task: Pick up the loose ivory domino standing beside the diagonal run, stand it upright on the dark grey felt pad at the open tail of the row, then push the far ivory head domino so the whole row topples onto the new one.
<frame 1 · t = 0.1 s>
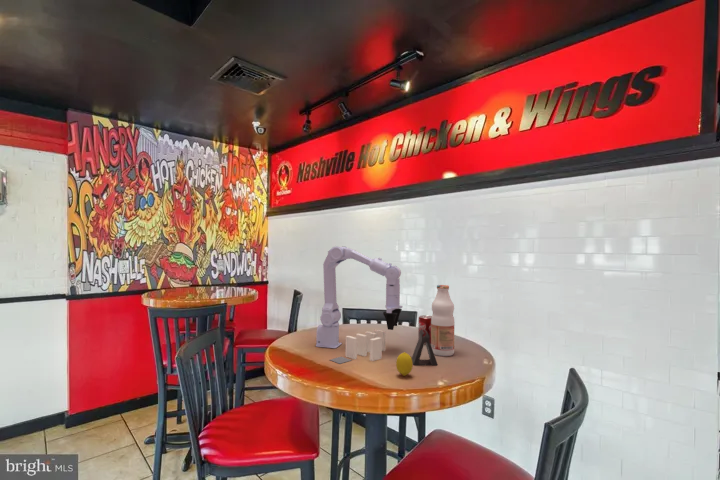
hand: (392, 327, 149), 10 cm above the table, tool pointing down, fingers open, 7 cm apart
tile 4: (351, 357, 140), on the table
phone stand: (424, 363, 135), on the table
lemon: (404, 376, 121), on the table
tile 2: (370, 352, 148), on the table
fruit juice: (442, 353, 147), on the table
head tile: (379, 349, 152), on the table
end marker: (340, 360, 137), on the table
soda can: (426, 343, 163), on the table
tile 3: (361, 354, 144), on the table
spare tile: (375, 359, 138), on the table
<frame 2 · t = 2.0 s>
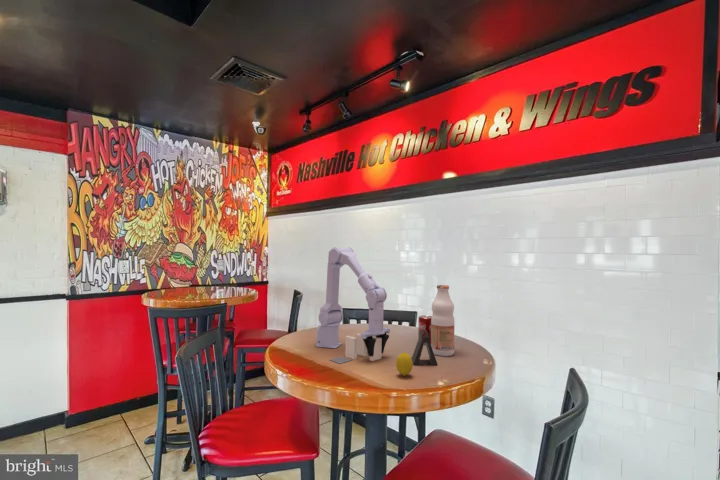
hand: (375, 354, 138), 2 cm above the table, tool pointing down, fingers closed on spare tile, 5 cm apart
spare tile: (375, 359, 138), on the table, touching gripper
everything else where it was.
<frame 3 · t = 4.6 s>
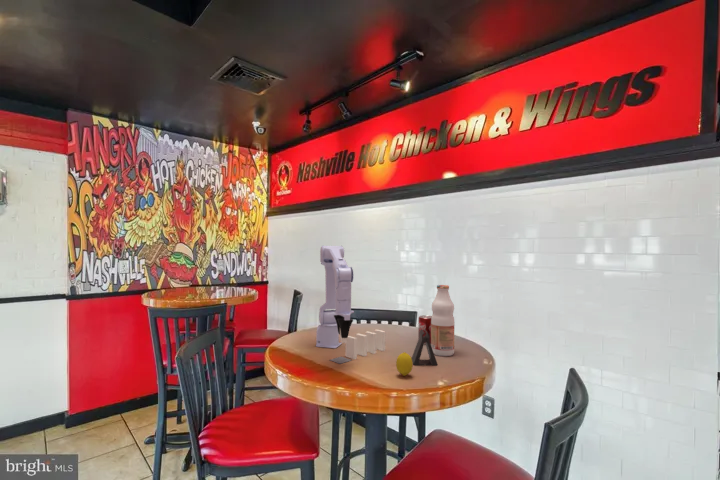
hand: (343, 335, 133), 10 cm above the table, tool pointing down, fingers closed on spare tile, 5 cm apart
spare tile: (343, 341, 133), point 8 cm above the table, touching gripper
everything else where it was.
when the fingers open (3 cm above the table, at t = 7.3 s): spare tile stays where it is, resting on end marker.
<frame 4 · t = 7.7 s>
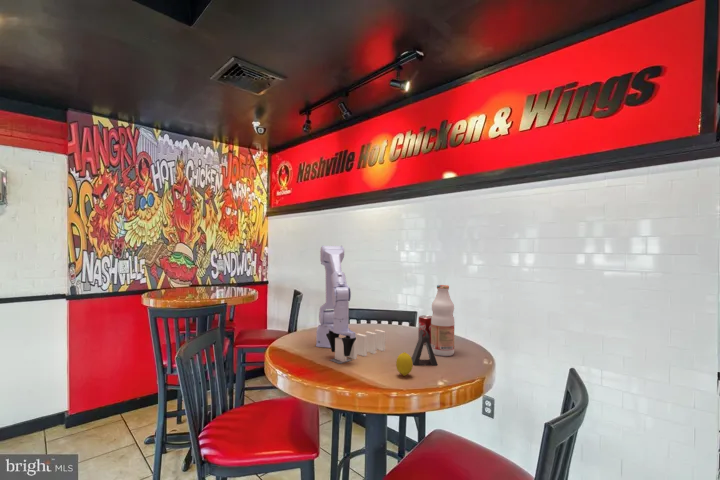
hand: (340, 353, 137), 3 cm above the table, tool pointing down, fingers open, 7 cm apart
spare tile: (340, 359, 137), resting on end marker
everything else where it was.
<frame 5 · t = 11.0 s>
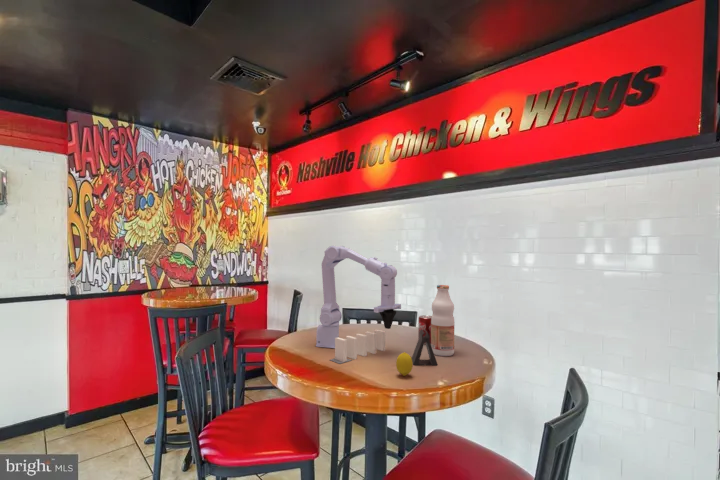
hand: (387, 328, 146), 10 cm above the table, tool pointing down, fingers closed
nothing on the table moved.
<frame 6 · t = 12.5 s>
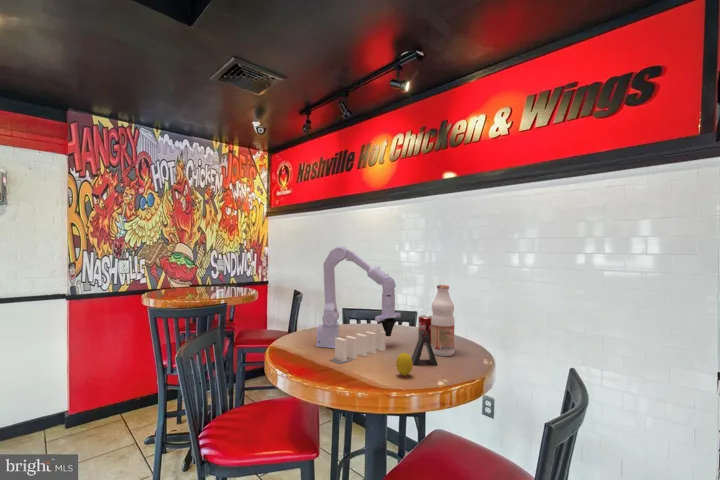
hand: (388, 335, 156), 5 cm above the table, tool pointing down, fingers closed
nothing on the table moved.
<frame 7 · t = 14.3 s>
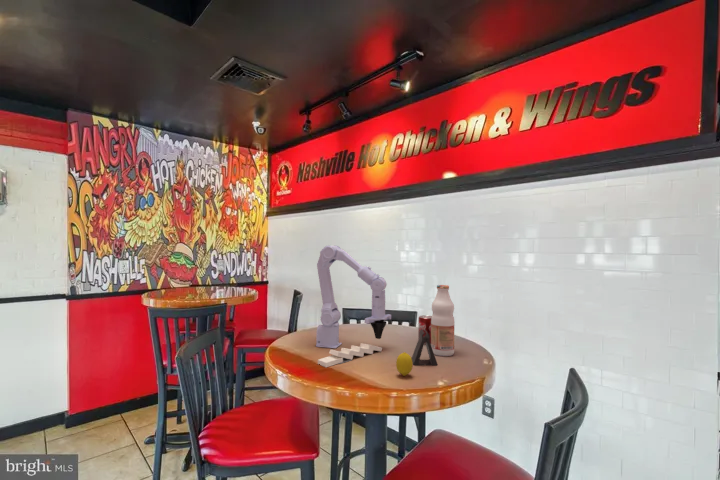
hand: (378, 338, 151), 5 cm above the table, tool pointing down, fingers closed
tile 4: (348, 356, 139), point 1 cm above the table, tilted 69°, touching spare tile, tile 3
tile 2: (368, 350, 147), point 1 cm above the table, tilted 72°, touching head tile, tile 3
head tile: (377, 348, 151), point 1 cm above the table, tilted 73°, touching tile 2
tile 3: (359, 353, 143), point 1 cm above the table, tilted 72°, touching tile 2, tile 4
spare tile: (338, 358, 136), point 1 cm above the table, tilted 92°, touching end marker, tile 4
everything else where it was.
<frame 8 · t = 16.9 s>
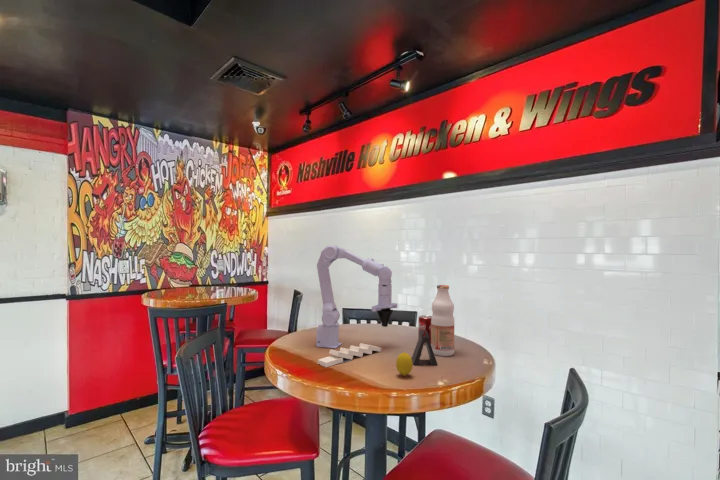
hand: (384, 326, 154), 9 cm above the table, tool pointing down, fingers closed
at the end: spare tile tilted 92°; head tile tilted 73°; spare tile 1.0 cm from the end marker (horizontally) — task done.
